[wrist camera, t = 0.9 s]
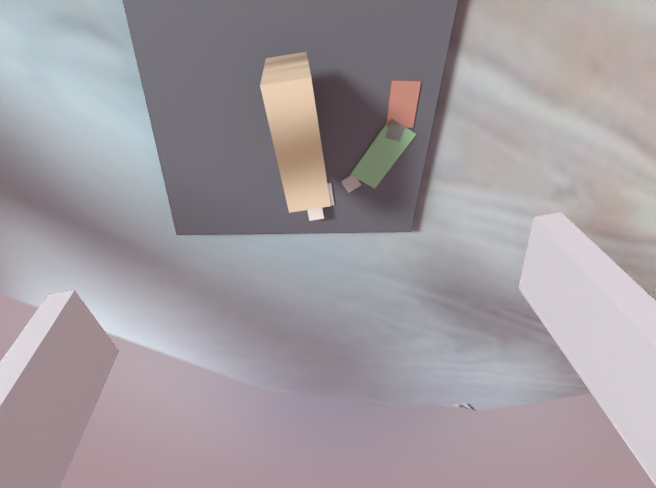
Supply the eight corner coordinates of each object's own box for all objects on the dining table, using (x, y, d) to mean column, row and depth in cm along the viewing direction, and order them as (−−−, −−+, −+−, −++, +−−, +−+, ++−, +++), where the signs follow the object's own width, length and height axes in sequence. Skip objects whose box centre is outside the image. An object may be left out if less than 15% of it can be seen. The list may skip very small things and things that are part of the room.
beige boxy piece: (264, 51, 25) (255, 86, 18) (308, 44, 24) (315, 76, 18) (299, 216, 32) (302, 283, 25) (332, 211, 32) (344, 277, 25)
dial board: (180, 225, 34) (176, 236, 32) (104, -122, 21) (92, -127, 19) (406, 222, 35) (411, 233, 34) (468, -97, 22) (479, -101, 21)
